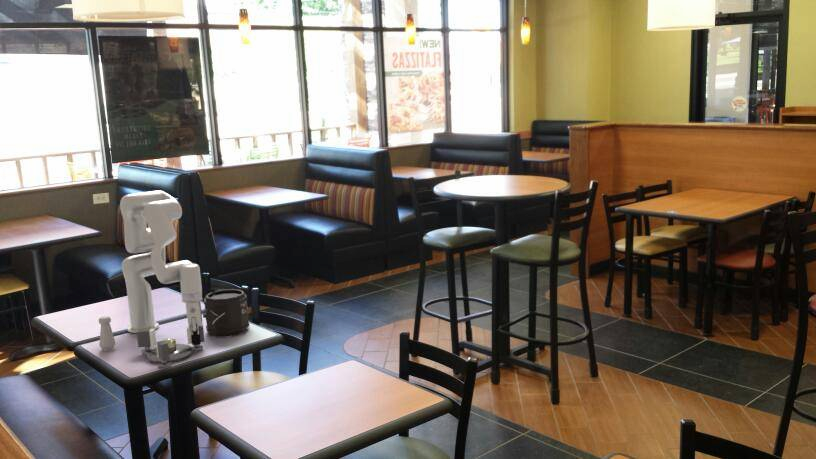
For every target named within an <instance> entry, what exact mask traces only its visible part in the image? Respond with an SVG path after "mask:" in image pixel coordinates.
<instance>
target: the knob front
mask: <svg viewBox="0 0 816 459" xmlns="http://www.w3.org/2000/svg"><path fill="white" fill-rule="evenodd" d="M164 340H165V339H163V338H162V339H156V345H155V348H157V357H158V358H160V359H161V363H162V364H164V363H167V360H170V358H169V348H168V343H167V342H165V341H164Z"/></svg>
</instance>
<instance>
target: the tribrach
mask: <svg viewBox="0 0 816 459" xmlns="http://www.w3.org/2000/svg"><path fill="white" fill-rule="evenodd" d="M163 340H164V341H165V342H167V343H168V348H169V358H170V360H167V363H164V364H162V363H161V359H160V358H158V357H157V348H156V347H154V348H150V350H149V351H145V349H144V350H142V351H141V355H142V356H146V357H147V358H146V359H147V360H146V361H147V362H149V363H152V364H157V368H159V369H166V368H167V369H168V368H170V367H172V363H179V362H181V361H184V360H186V359H188V358H190V357H191V356H192V355H193V353H194V352H201V351H202V350H203V349H204V346H203V345H202V344H199V347H194V345H192V346H191V345H190V344H185V343H177V342H176V341H177V340H176V339H175V338H171V337H170V338H165V339H163ZM203 351H204V350H203Z"/></svg>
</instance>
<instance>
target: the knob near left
mask: <svg viewBox="0 0 816 459" xmlns="http://www.w3.org/2000/svg"><path fill="white" fill-rule="evenodd" d="M192 327H193V326H192ZM196 329H197V328H196ZM204 329H205V328H204V325H203V324H202V327H200V326H199V334H200V340H201V343H205V332H204ZM186 333H187V334H186V336H187V337H186V338H187V345H192V339H191V335H192V333H191V328H189V326H187V327H186ZM199 345H200V344H198V345H193V346H194V347H199Z"/></svg>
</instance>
